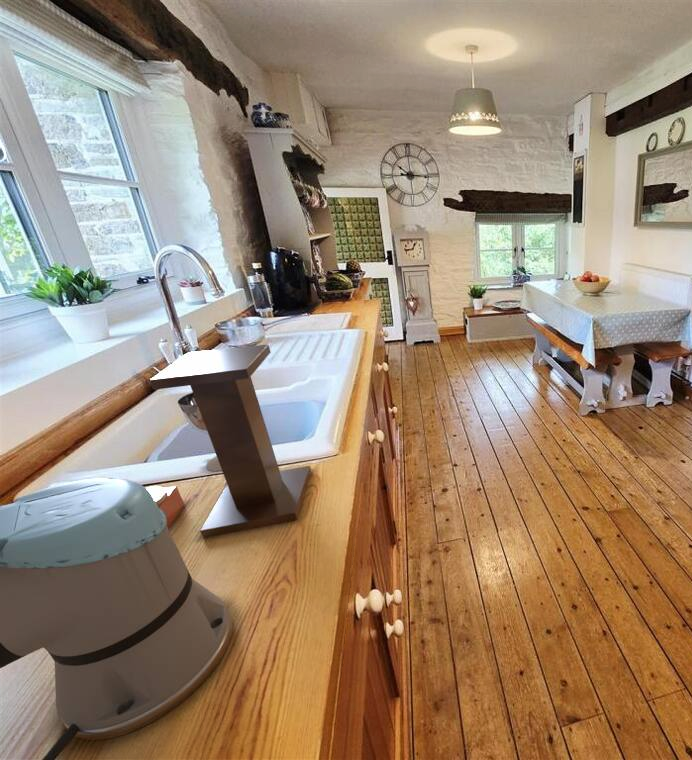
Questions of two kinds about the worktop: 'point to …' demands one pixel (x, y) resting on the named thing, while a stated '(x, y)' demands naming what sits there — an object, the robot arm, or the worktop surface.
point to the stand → (238, 439)
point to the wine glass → (196, 422)
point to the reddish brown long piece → (167, 501)
